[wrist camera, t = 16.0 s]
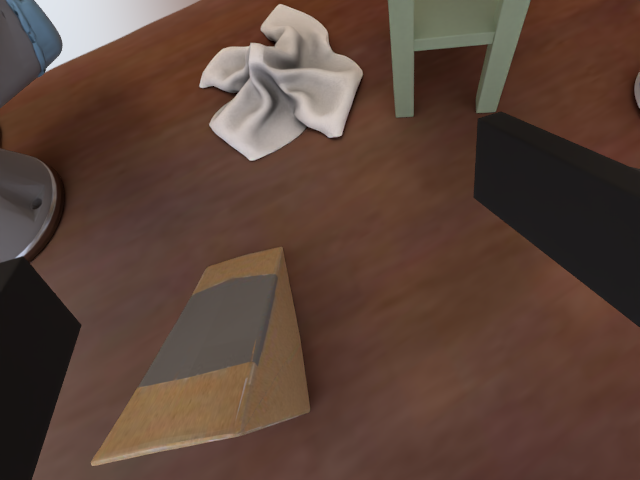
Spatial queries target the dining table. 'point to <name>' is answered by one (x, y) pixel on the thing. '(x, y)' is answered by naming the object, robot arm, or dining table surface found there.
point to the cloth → (282, 85)
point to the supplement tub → (637, 89)
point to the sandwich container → (219, 364)
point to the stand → (454, 41)
